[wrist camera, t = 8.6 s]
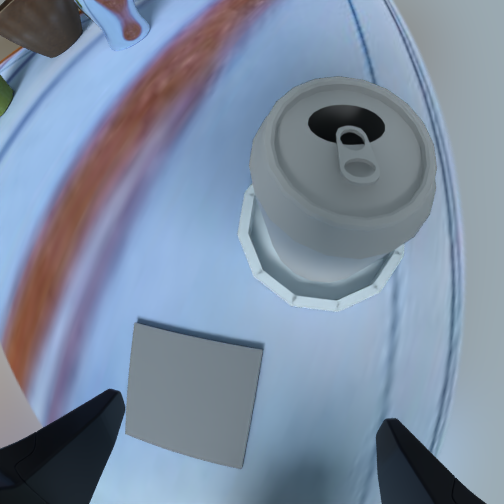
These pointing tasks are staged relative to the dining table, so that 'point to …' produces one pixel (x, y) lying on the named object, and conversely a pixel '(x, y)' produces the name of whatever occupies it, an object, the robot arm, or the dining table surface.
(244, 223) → the dish
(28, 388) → the dining table surface
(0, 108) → the plant pot
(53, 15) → the plant pot
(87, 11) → the beer glass
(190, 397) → the mat
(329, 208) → the can
